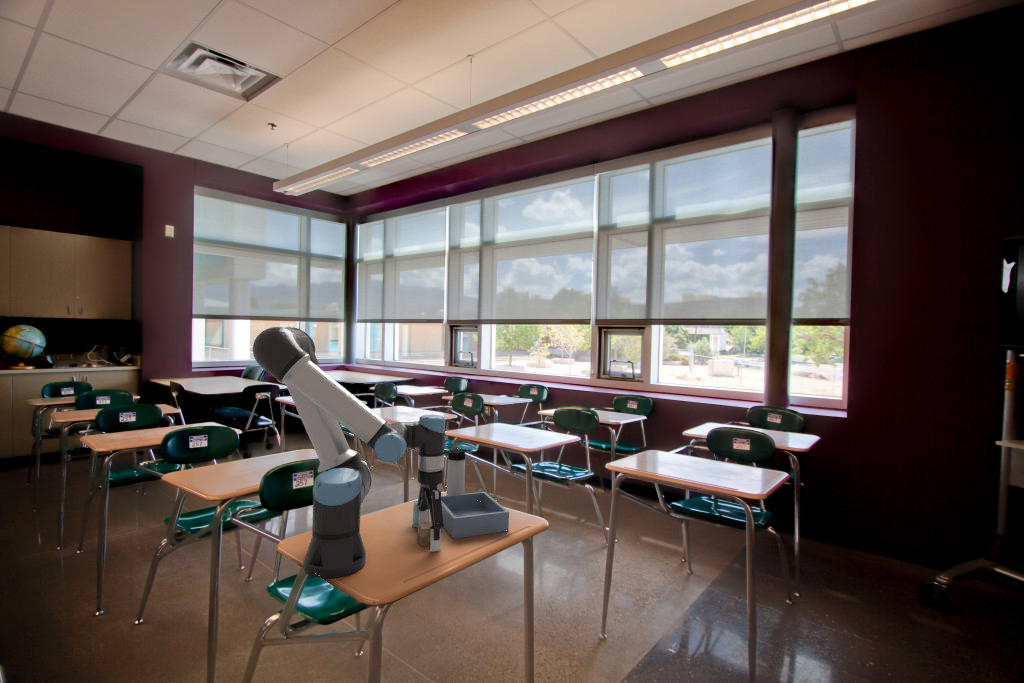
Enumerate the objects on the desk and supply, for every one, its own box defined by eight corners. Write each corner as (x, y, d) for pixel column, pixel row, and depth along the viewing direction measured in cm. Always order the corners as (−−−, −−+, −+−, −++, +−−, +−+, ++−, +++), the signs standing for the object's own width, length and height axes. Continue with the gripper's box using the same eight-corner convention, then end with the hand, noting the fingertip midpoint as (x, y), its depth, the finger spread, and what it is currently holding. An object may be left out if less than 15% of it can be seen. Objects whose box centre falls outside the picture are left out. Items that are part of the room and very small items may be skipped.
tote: (453, 538, 145) (453, 518, 145) (434, 514, 164) (434, 496, 164) (508, 530, 153) (509, 511, 153) (484, 508, 172) (484, 491, 172)
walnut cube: (421, 546, 139) (422, 529, 139) (417, 539, 144) (418, 522, 144) (438, 544, 141) (439, 526, 141) (433, 537, 146) (434, 520, 146)
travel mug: (463, 508, 171) (465, 451, 171) (444, 507, 171) (446, 450, 171) (465, 502, 177) (467, 447, 177) (447, 501, 177) (449, 446, 177)
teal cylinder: (414, 528, 152) (415, 506, 152) (410, 523, 156) (412, 501, 156) (430, 526, 154) (431, 504, 154) (426, 521, 158) (427, 499, 158)
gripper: (456, 479, 133) (454, 556, 133) (432, 457, 155) (430, 524, 156) (429, 481, 130) (427, 561, 130) (408, 459, 152) (406, 527, 153)
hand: (429, 541), depth 143 cm, fingers open, 13 cm apart
